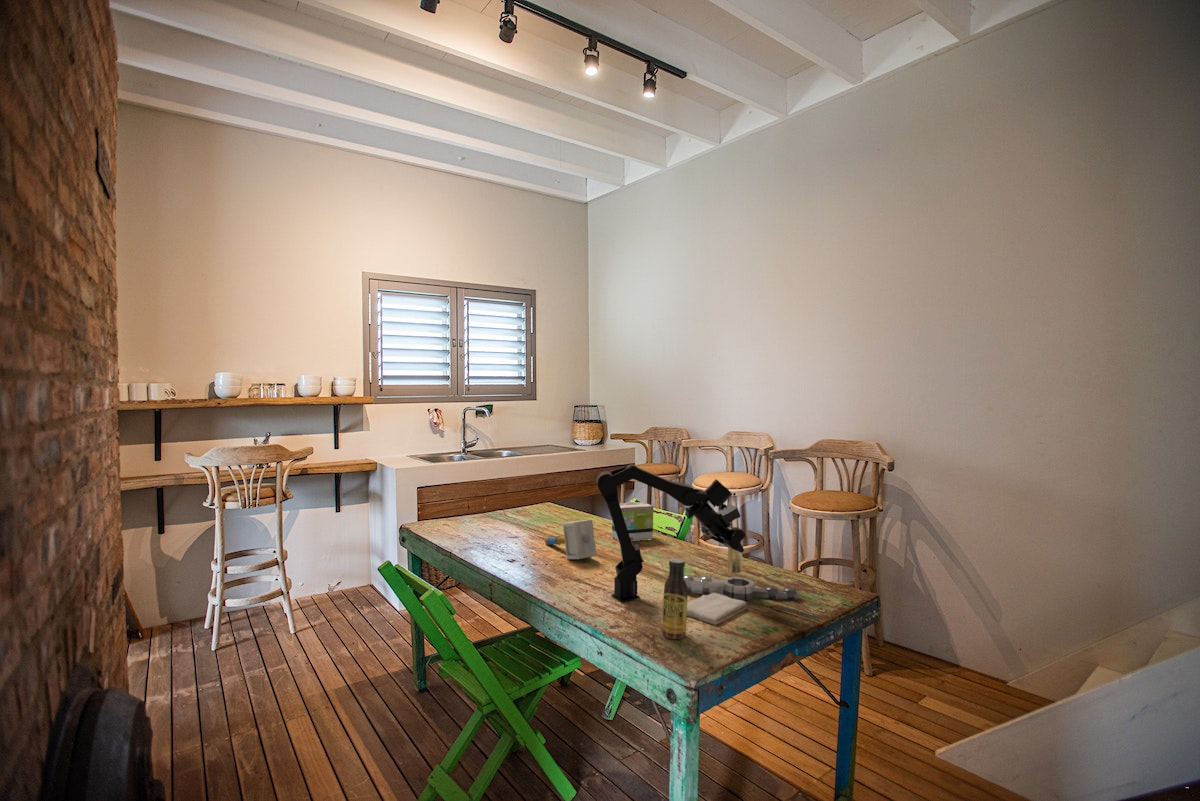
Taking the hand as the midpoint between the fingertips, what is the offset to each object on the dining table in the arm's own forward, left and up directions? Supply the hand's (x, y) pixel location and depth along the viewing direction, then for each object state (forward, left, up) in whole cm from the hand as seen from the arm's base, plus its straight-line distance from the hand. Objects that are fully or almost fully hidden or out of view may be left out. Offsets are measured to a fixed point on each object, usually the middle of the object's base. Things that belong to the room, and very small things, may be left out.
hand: (738, 549), depth 184 cm
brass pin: (-1, 0, -7) cm, 7 cm away
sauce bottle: (-38, -13, -14) cm, 43 cm away
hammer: (-22, +68, -14) cm, 73 cm away
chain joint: (-2, -2, -14) cm, 14 cm away
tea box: (+12, +69, -14) cm, 72 cm away
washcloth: (-17, -7, -14) cm, 24 cm away
